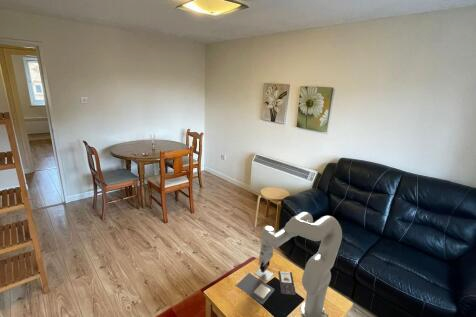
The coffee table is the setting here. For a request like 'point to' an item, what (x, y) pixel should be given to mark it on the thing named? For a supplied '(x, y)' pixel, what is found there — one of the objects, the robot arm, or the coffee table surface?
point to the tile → (262, 291)
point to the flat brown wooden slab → (265, 267)
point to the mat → (253, 287)
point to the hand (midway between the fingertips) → (264, 267)
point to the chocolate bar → (286, 283)
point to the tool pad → (264, 274)
